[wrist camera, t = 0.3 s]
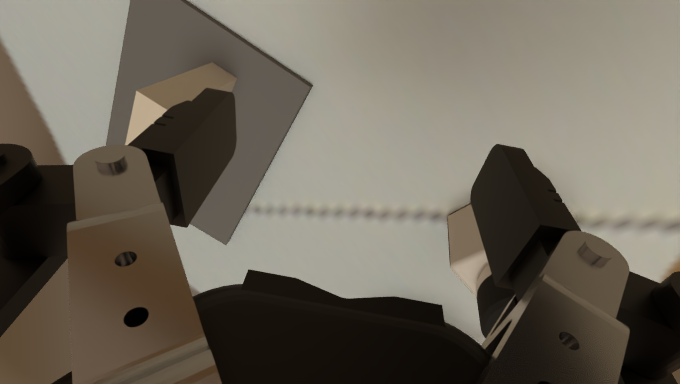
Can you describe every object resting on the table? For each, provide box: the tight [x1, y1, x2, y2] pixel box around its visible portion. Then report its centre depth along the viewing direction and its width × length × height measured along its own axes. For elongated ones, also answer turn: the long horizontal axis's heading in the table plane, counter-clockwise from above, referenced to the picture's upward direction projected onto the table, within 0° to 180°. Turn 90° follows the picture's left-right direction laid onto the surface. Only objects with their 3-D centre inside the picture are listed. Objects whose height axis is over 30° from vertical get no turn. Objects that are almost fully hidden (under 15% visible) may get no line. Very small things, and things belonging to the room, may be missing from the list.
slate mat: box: [106, 0, 313, 245], centre depth 34 cm, size 22×16×1 cm
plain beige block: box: [125, 62, 237, 145], centre depth 27 cm, size 6×3×9 cm, turn 150°
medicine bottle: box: [447, 204, 515, 338], centre depth 27 cm, size 7×7×12 cm
